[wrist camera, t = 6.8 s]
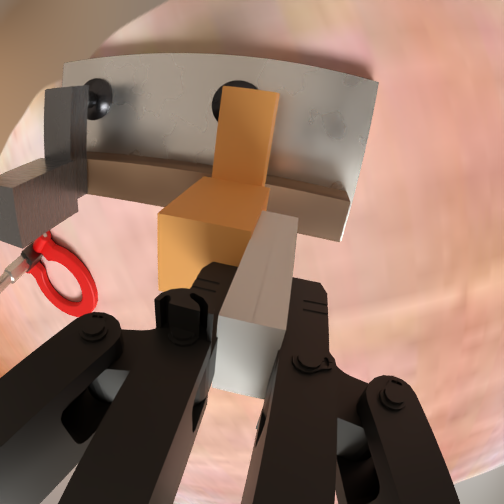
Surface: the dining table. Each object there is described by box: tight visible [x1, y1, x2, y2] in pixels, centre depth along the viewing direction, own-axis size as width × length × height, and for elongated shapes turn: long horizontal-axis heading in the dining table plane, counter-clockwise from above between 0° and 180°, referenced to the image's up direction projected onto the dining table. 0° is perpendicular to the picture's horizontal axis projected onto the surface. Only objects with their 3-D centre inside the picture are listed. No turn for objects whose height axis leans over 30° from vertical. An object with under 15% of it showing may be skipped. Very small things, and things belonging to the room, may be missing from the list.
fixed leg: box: [0, 85, 97, 249], centre depth 14 cm, size 8×3×8 cm, turn 172°
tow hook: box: [0, 231, 98, 317], centre depth 21 cm, size 8×13×9 cm
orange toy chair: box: [158, 86, 280, 292], centre depth 13 cm, size 8×3×8 cm, turn 172°
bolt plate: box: [62, 53, 379, 242], centre depth 17 cm, size 10×21×3 cm, turn 82°
